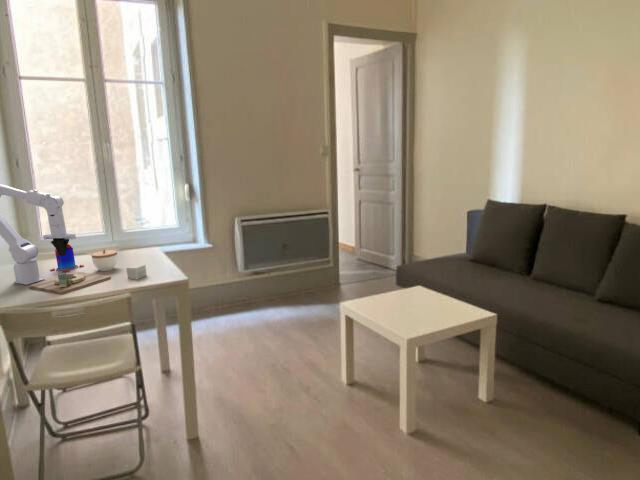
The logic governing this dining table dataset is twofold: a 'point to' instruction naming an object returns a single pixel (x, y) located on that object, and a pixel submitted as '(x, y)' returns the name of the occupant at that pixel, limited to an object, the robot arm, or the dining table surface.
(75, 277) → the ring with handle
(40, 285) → the post board
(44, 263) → the dining table surface
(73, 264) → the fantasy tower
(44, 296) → the dining table surface
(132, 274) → the small box
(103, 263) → the lidded jar
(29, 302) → the dining table surface
